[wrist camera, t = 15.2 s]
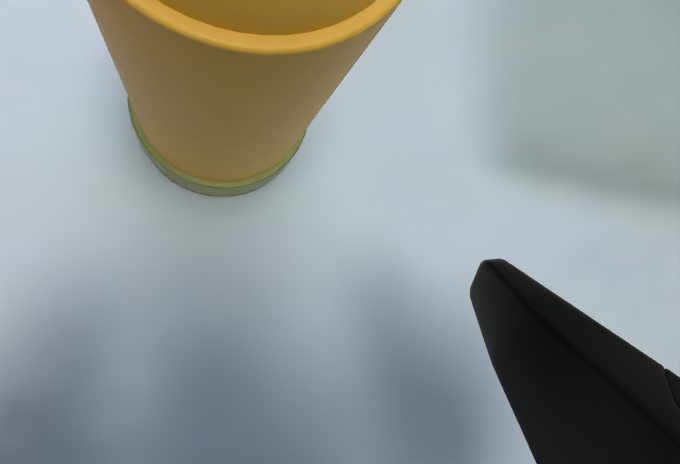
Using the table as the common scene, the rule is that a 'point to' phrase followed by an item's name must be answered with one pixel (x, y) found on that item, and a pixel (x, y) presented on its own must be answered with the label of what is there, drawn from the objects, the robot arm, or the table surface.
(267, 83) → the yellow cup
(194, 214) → the table surface
